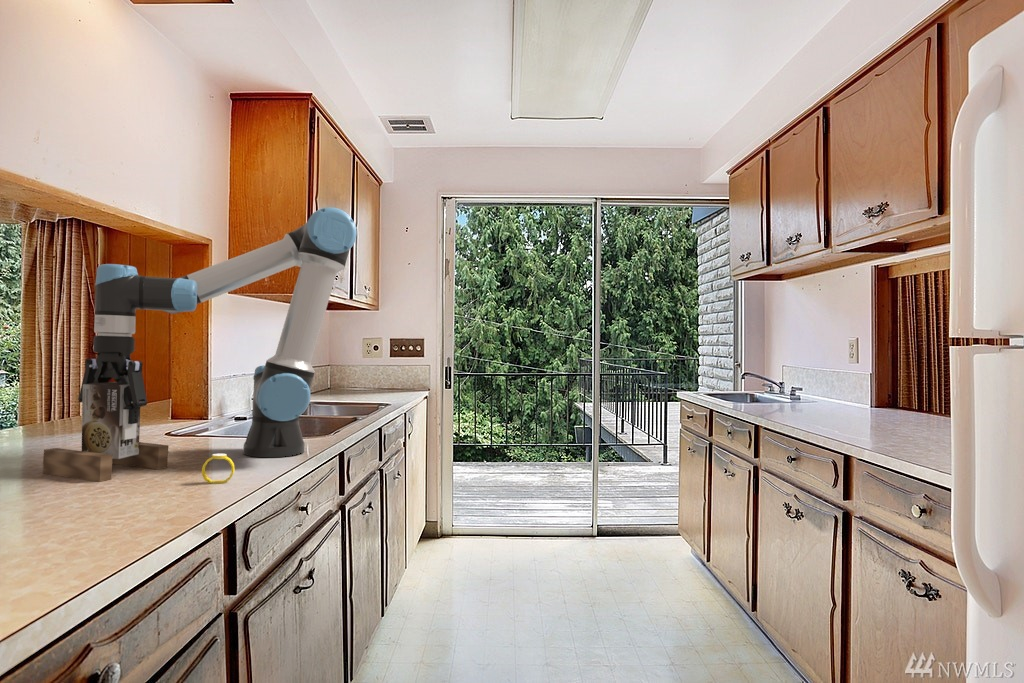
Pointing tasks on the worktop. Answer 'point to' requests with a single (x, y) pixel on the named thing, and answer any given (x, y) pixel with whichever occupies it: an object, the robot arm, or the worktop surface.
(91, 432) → the coffee box
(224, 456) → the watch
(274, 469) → the worktop surface
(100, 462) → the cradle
